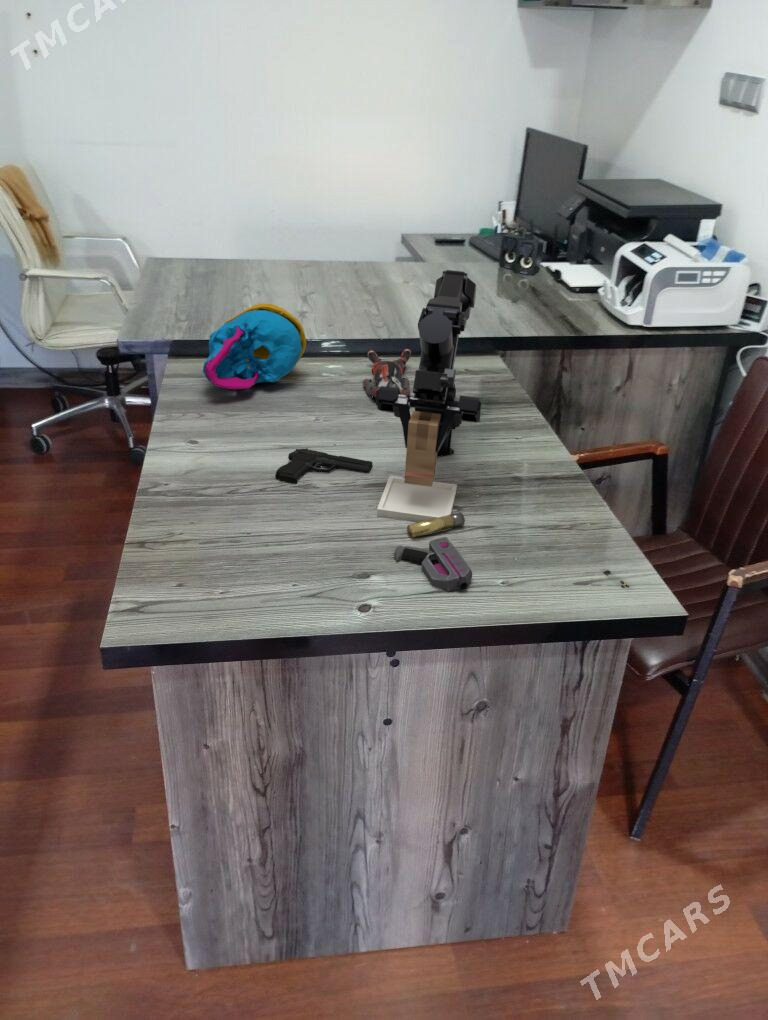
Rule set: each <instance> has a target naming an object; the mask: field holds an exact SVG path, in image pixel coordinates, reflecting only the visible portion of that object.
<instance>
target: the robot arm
mask: <svg viewBox="0 0 768 1020" xmlns="http://www.w3.org/2000/svg"><path fill="white" fill-rule="evenodd" d="M476 297H477V284H476V283H475V282H474V281H473V280H471V279H470V278H469V277H468V272H465V271H461V270H451V269H445V270H443V271H442V274H441V276H440V277H439V278H437V279H436V280H435V286H434V294H433V298H430V299H429V300H428V301H427V303H426V306H425V307H422V310H421V313H420V316H419V318H418V322H417V328H418V329H417V330H418V335H419V345H420V348H421V353H420V358H419V364H418V369H416V370H415V375H414V380H413V388H412V393H413V395H412V396H411V395H409V396H407V395H401V394H400V389H399V388H393V387H385V386H380V387H379V388H378V389H377V392H376V397H374V399H375V403H376V404H375V405H376V407H377V411H381V412H387V413H393V415H394V417H396V418H399V419H400V422H401V427H402V432H403V438H404V439H403V440H404V446H405V448H406V449H407V438H408V424H409V420H410V417H411V415H412V414H411V412H410V411H411V408H414V411H419V412H427V413H435V414H441V419H440V430H439V435H438V439H437V443H436V452H437V458H438V457H439V458H440V457H443V456H448V455H454V454H455V450H454V449H453V448H451V446H452V445H451V444H452V435H453V431H455V430H456V428H459V427H460V425H462V422H467V423H468V422H469V423H480V422H481V415H482V399H481V398H480V397H477V396H468V395H460V396H459V400H457V389H456V384H455V379H456V374H457V373H456V372H457V370H456V369H455V368H454V367H455V361H456V355H457V348H458V342H459V337H460V335H462V333H463V332H465V329H466V326H467V321H468V320H469V319H470V315H471V310H472V309H473V308H475V306H476V305H475V304H476Z"/></svg>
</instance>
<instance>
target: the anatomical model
mask: <svg viewBox="0 0 768 1020" xmlns="http://www.w3.org/2000/svg"><path fill="white" fill-rule="evenodd" d="M306 347H307V338H306V333H305V329H304V327H303V326H302V324H301V322H300V321H299V320H298V318H296V317H295V316H294V315H293V314H292V313H290V312H289V311H287V310H286V309H284V308H283V307H280V306H278V305H276V304H272V303H264V302H263V303H262V302H261V303H258V304H257V303H256V304H254V305H252V306H250V307H248V308H246V309H245V310H243V311H241V312H239V313H238V314H236V315H235V316H232V317H231V318H230V319H228V320H226V321H225V323H224V324H223V325H221V326H220V327H218V329H217V330H215V331H212V333H211V334H209V341H208V349H209V350H208V351H209V356H208V357H207V358H206V359H205V360H204V364H203V367H202V373H203V374H204V376H205V378H206V379H207V380H208V382H211V383H212V384H213V385H215V386H216V387H219V388H222V389H227V390H244V389H250V388H252V387H253V386H254V385H256V384H257V383H258V384H259V383H264V382H265V383H275V382H277V381H279V380H280V379H282V378H283V377H285V376H287V375H288V374H289V373H291V371H293V369H295V367H296V364H297V363H298V362H299V361H300V360H301V358H303V357H302V356H303V355H304V353H305V352H306Z"/></svg>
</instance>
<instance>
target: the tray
mask: <svg viewBox="0 0 768 1020" xmlns="http://www.w3.org/2000/svg"><path fill="white" fill-rule="evenodd" d="M404 480H405V477H402V476H395V475H389V477H388V480H387V481H386V485H385V488H384V490H383V492H382V495H381V498H380V500H379V503H378V506H377V508H376V517H381V518H388V519H395V520H401V521H409V522H414V523H417V522H422V521H426V520H430V519H434V518H438V517H442V516H446V515H450V514H453V508H454V503H455V500H456V499H455V498H456V496H457V495H456V494H457V489H458V484H454V483H447V482H440V481H433V484H432V487H431V486H423V485H416V484H408V483H404Z"/></svg>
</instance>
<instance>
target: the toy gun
mask: <svg viewBox="0 0 768 1020" xmlns="http://www.w3.org/2000/svg"><path fill="white" fill-rule="evenodd" d="M428 545H429V546H428V549H425V548H420V547H416V546H409V545H405V546H402V545H397V546H396V548H395V550H394V553H393V555H394V558H395V562H397V563H399V562H400V561H401V560H405V561H410V562H415V563H419V564H420V563H421V572H424V573H423V574H424V576H425V577H426V579H427V578H428V579H427V580H428V582H429V583H430V584H431V586H432V587H434V586H435V587H434V588H437V587H438V588H439V589H443V590H446V591H447V592H453V591H457V590H458V589H459V590H460V591H464V590H466V589H468V587H469V584H470V583H471V581H472V578H473V572H472V568H471V567H470V566H469V564H468V563H467V561H466V560H465V559H464V558H463V557H462V555H461V553H460V552H459V551H458V550H457V548H455V546H454V543H453V542H451V541H450V539H449V537H447V536H443V537H440V538H436V539H431V540H429V542H428ZM438 588H437V589H438ZM452 590H453V591H452Z"/></svg>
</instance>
